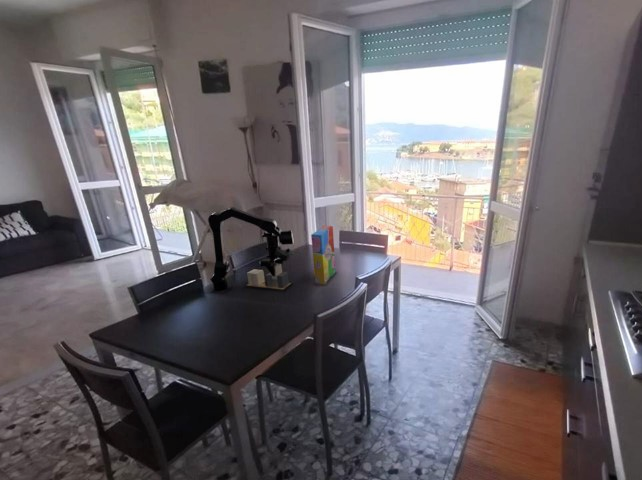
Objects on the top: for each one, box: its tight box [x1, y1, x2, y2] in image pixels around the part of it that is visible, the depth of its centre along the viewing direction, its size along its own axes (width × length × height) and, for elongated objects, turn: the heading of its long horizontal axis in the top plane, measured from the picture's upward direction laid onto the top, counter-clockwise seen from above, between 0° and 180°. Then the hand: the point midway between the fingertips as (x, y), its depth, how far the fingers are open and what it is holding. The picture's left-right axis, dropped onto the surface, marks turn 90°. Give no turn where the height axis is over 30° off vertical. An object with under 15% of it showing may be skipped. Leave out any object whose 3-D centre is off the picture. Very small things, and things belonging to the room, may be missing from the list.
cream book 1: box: [246, 268, 258, 285], centre depth 190 cm, size 6×3×6 cm, turn 163°
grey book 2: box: [277, 271, 290, 289], centre depth 185 cm, size 6×3×6 cm, turn 163°
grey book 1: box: [265, 272, 278, 287], centre depth 187 cm, size 6×3×6 cm, turn 163°
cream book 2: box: [252, 269, 265, 285], centre depth 189 cm, size 6×3×6 cm, turn 163°
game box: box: [310, 225, 337, 286], centre depth 192 cm, size 21×6×27 cm, turn 168°
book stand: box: [246, 275, 292, 290], centre depth 188 cm, size 9×22×6 cm, turn 73°
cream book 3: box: [271, 263, 283, 279], centre depth 184 cm, size 6×3×6 cm, turn 163°
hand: (276, 274), depth 184 cm, fingers closed on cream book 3, 6 cm apart
